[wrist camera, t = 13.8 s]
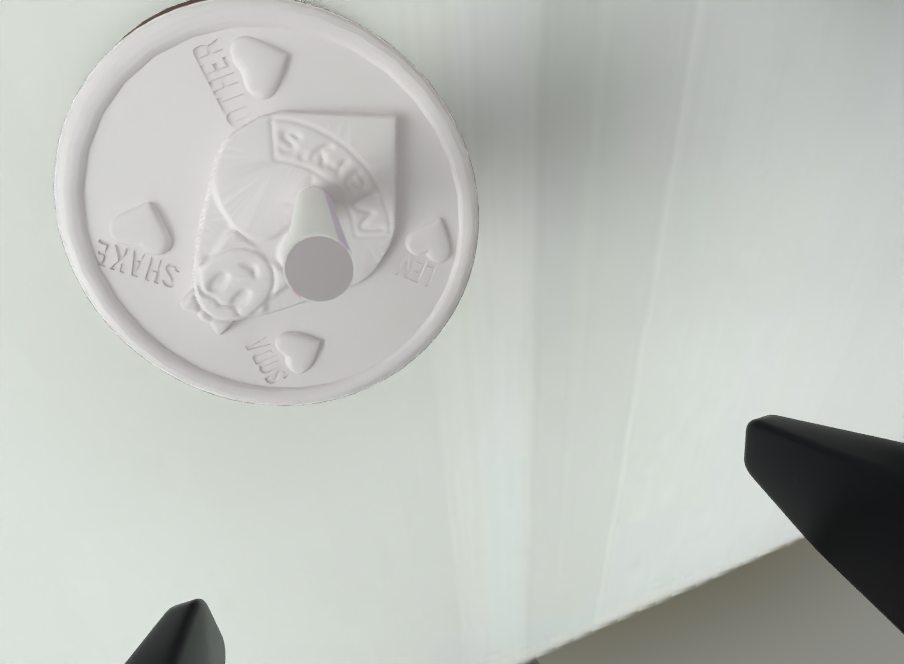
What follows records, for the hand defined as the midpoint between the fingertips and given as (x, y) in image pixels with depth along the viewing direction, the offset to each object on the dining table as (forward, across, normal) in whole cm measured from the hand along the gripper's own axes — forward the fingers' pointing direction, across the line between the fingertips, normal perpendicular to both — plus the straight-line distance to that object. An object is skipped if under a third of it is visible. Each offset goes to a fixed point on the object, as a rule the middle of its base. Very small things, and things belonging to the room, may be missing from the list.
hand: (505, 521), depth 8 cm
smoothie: (+12, +2, -5) cm, 13 cm away
